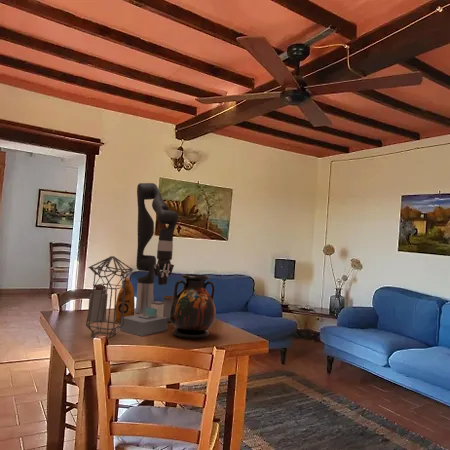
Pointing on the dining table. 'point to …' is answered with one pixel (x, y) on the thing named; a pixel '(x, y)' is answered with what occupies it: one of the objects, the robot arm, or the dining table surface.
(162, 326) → the socket
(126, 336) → the dining table surface
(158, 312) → the plug
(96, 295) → the perfume bottle
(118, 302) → the coffee package
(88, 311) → the geometric lantern
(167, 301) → the coffee pot
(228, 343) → the dining table surface
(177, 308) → the amphora vase
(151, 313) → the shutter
